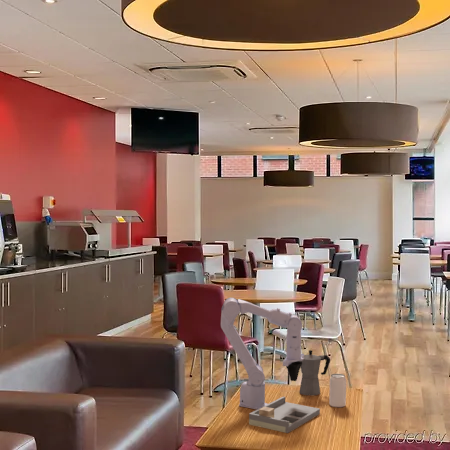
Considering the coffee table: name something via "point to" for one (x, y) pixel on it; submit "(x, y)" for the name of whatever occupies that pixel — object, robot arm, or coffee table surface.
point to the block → (267, 412)
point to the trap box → (283, 416)
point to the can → (337, 390)
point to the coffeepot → (312, 373)
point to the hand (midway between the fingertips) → (293, 380)
